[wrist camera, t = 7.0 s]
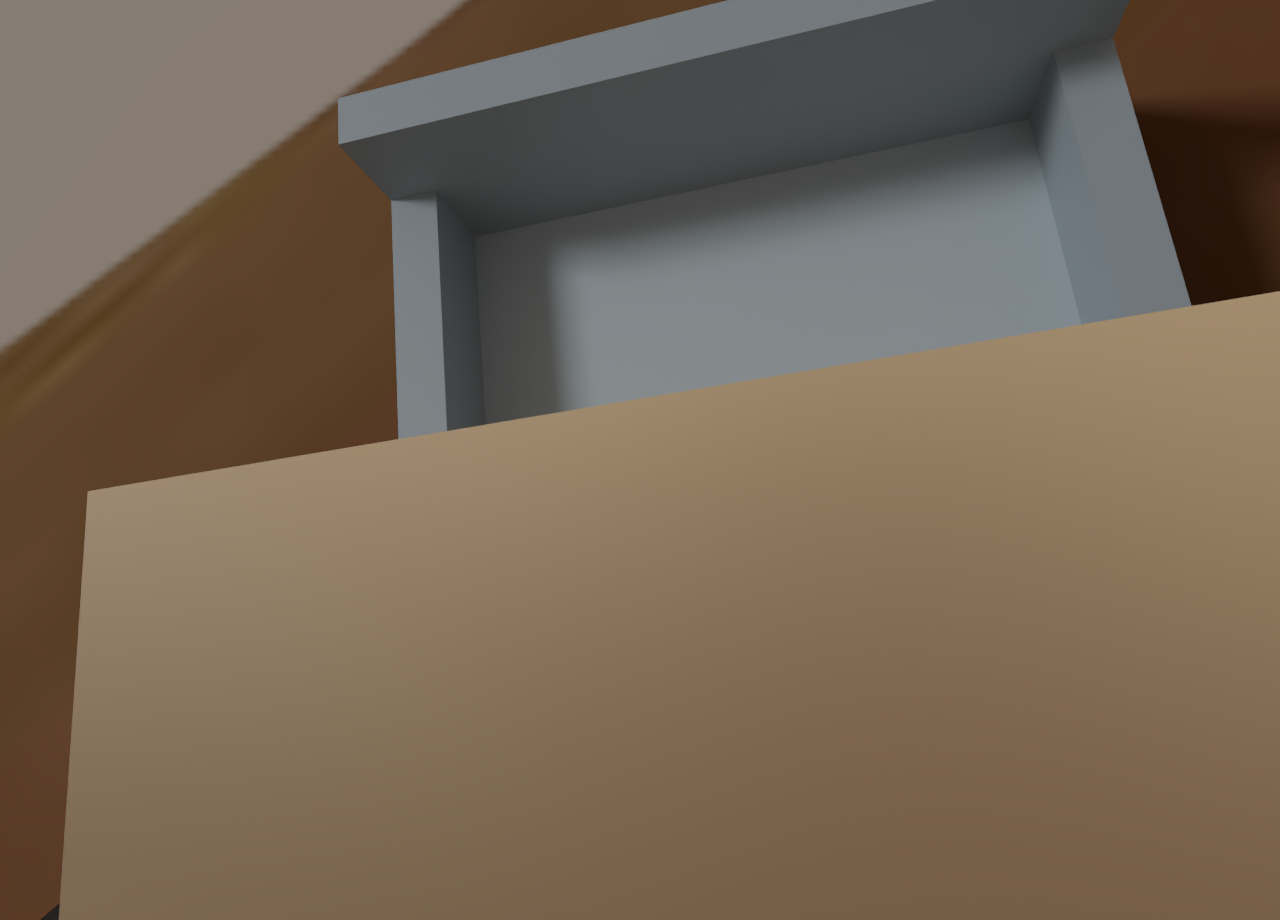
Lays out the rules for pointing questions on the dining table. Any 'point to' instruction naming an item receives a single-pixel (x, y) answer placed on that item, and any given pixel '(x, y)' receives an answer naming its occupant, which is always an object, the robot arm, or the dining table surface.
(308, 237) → the dining table surface
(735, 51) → the bay
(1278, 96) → the dining table surface
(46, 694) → the dining table surface
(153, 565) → the tan wooden block
